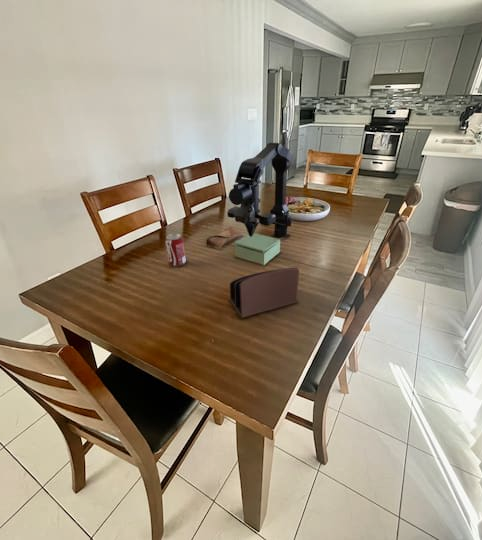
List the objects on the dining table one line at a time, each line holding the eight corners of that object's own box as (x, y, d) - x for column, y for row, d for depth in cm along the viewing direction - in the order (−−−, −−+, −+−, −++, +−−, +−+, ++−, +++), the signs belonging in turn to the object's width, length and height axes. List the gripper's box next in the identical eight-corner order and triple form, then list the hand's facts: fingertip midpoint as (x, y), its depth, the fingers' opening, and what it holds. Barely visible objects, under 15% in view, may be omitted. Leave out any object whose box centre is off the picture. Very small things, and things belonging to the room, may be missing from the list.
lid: (263, 252, 113) (263, 250, 113) (234, 243, 120) (234, 242, 120) (280, 241, 124) (280, 239, 124) (252, 234, 131) (252, 232, 130)
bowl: (336, 210, 173) (338, 197, 169) (317, 227, 151) (319, 212, 147) (289, 202, 187) (290, 190, 183) (266, 216, 165) (267, 203, 161)
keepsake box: (263, 266, 117) (264, 253, 114) (235, 257, 124) (235, 245, 121) (279, 253, 127) (280, 241, 124) (252, 245, 133) (252, 234, 131)
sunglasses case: (220, 249, 130) (213, 235, 128) (210, 253, 134) (204, 239, 133) (243, 235, 142) (237, 222, 141) (233, 239, 147) (228, 227, 146)
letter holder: (297, 302, 97) (300, 265, 89) (241, 319, 90) (240, 280, 83) (282, 287, 104) (284, 252, 97) (230, 301, 98) (228, 264, 90)
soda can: (189, 260, 122) (185, 234, 116) (180, 268, 116) (176, 241, 110) (174, 258, 124) (170, 232, 118) (166, 266, 118) (161, 238, 112)
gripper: (217, 199, 107) (219, 238, 115) (261, 208, 98) (260, 249, 106) (235, 191, 115) (236, 228, 123) (277, 199, 106) (275, 238, 114)
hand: (251, 236), depth 116 cm, fingers closed
